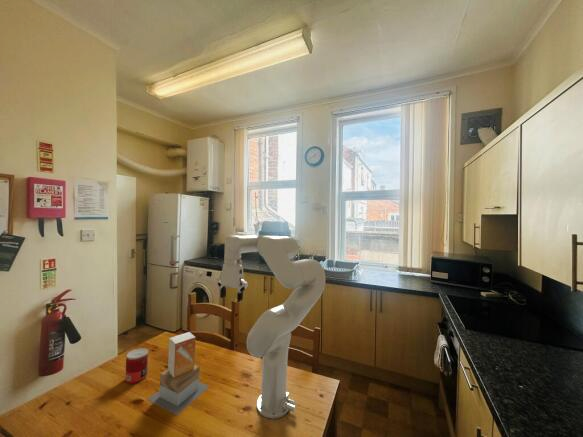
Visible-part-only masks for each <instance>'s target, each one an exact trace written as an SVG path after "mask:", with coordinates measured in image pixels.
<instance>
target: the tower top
mask: <svg viewBox="0 0 583 437" xmlns="http://www.w3.org/2000/svg"><path fill="white" fill-rule="evenodd" d="M159 378H160V379H159V386H160V385H161V386H163V387H165V388H167V389H169V390H171V391H173V392H175V393H177V394H179V393H180V392H181V391H183V390H184V389H185V388H186V387H188V386H189V385H190V384H192V383H193V382H194V381H196V380H197V379H198V378H199V379H200V366H198V365H196V364H194V370H191V371H189V372H186V373H184V374H182V375H179V376H177V377H175V378H173V377H172V375H171V374H170V373H169V371H168V368H167V369H166V370H164V371H162V372H161V373H160V374H159Z"/></svg>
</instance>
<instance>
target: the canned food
mask: <svg viewBox="0 0 583 437" xmlns="http://www.w3.org/2000/svg"><path fill="white" fill-rule="evenodd" d="M125 358H126V359H125V380H124V381H125V382H126V384H128V385H135V384H139V383H140V382H142V381H143V380H145V379H146V378H147V376H148V363H149V350H148V349H147V348H144V347H143V348H141V347H140V348H136V349H133V350H131V351H129V352H127V353H126V356H125Z"/></svg>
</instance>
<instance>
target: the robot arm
mask: <svg viewBox="0 0 583 437" xmlns="http://www.w3.org/2000/svg"><path fill="white" fill-rule="evenodd" d="M299 249H300V244H299V242H298V241H297V240H296V238H294V237H291V236H287V235H286V236H284V235H281V236H279V235H236V234H235V235H234V234H229V235H226V236H225V238H224V254H223V255H224V260H223V264H222V269H221V276H219V277H217V278H216V282H217V286H218V287H219V288H218V289H219V290H220V296H219V297H220V299H223V298H225V297H226V296H227V287H229V288H233V289H236V290H237V294H236V297H237V298H236V302H241V301H243V299H244V292H245V291H246V289H247V287H248V286H249V282H247V281H246V280H245V278H244V277H245V276H244V268H243V260H242V254H246V253H257V252H258V254H259V255H260V256H262V258H263V260H264V262H265V263H266V264H267V266H268V268H269V269H270V270H271V272H272V273H273V275H274V277H275V278H276V279H277V280H278V283H280V285H282V286H283V287H284V288H285V289H288V290H289V289H290V290H292V289H294V290H293V291H292V292H291V293H290V294H289V296H288V298H287V299H286V300H285V301H284V302H283V303H282V304H279V305H277V306H274V307H272V308H269V309H267V310H265V311H264V312H263V313H262V314H261V315H259V317H258V319H257V320H256V321H255V323H254V324H253V326H252V327H251V329H250V330H249V332H248V333H247V337H246V348H247V351H248V353H249V354H250V355H251V356H252V357H254V358H257V359H258V358H259V359H260V358H262V359H261V360H262V363H261V364H262V366H261V389H260V390H261V392H260V393H261V394H260V395H259V397H258V398H257V400H256V409H257V411H258V413H259V414H260V415H261V416H262V417H264V418H268V419H278V418H281V417H283V416H285V415H286V414H287V413H288V412H289V411H290V412H293V413H295V411H296V400H295V399H292V398H290V397H289V396H290V392H288V391H287V389H288V388H287V386H288V385H287V384H288V383H287V381H288V380H287V378H288V358H289V347H290V343H291V339H292V338H291V337H292V332H293V331H294V330H295V329H297V328H298V326H299V325H300V323H302V321H303V320H304V319H305V318H306V316H307V315H308V314H309V312H310V311H311V309H312V308H313V307H314V306H315V305H316V304H317V302H318V300H319V299H320V298H321V296H322V294H323V292H324V289H325V286H326V273H325V269H324V267H323V265H322V264H321V263H320V262H319V261H318V260H316V259H311V258H304V259H299V260H294V261H292V260H291V259H293V258H295V257H296V256H297V254H298V252H299V251H300V250H299Z"/></svg>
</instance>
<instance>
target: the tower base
mask: <svg viewBox="0 0 583 437" xmlns="http://www.w3.org/2000/svg"><path fill="white" fill-rule="evenodd" d="M199 382H200V377H199V378H198V379H197V380H196V381H194V382H193V383H192V384H190V385H189V386H188V387H186V388H185V389H184V390H183V391H181V392H180V393H179V394H177V393H175V392H173V391H171V390H169V389H167V388H165V387H163V386H161V385H160V384H159V391H160V396H159V397H161V398H163V399H165V400H167V401H169V402H170V403H172V404H174V405H176V406H178V405H180V404H181V403H182V402H183V401H185V400H186V399H187V398H188V397H189V396H191V395H192V394H193V393H194V392H196V391H197V390H198V389H199Z"/></svg>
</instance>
